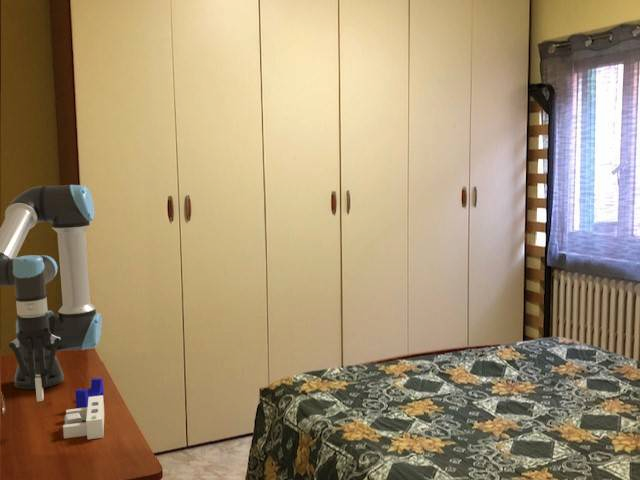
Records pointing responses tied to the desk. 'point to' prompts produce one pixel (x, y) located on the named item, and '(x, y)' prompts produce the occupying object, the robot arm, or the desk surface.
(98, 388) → the cable clip
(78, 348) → the robot arm
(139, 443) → the desk surface
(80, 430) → the dock
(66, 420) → the usb wall charger
